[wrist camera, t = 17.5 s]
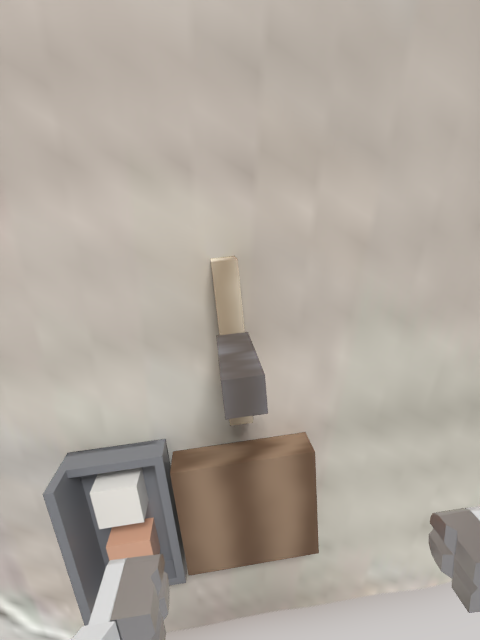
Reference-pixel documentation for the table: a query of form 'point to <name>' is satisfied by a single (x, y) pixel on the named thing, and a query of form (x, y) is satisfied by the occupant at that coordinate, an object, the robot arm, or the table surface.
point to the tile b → (133, 540)
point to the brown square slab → (246, 502)
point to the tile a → (119, 498)
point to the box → (90, 542)
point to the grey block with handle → (236, 348)
